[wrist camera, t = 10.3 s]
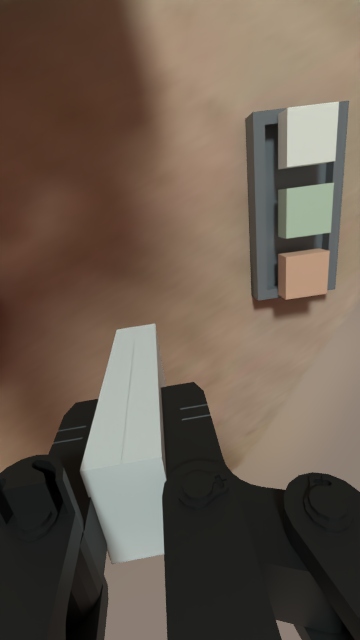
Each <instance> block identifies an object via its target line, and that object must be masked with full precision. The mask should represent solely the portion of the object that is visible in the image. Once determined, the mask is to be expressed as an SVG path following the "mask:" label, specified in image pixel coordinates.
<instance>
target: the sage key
mask: <svg viewBox="0 0 360 640" xmlns="http://www.w3.org/2000/svg"><path fill="white" fill-rule="evenodd" d="M333 190H334V183H326V184H318V185H311V186H303V187H296V188H288V189H281V190H278V237H281V238H285V239H288V238H295V237H302V236H309V235H316V234H324V233H331V221H332V206H333Z"/></svg>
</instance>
